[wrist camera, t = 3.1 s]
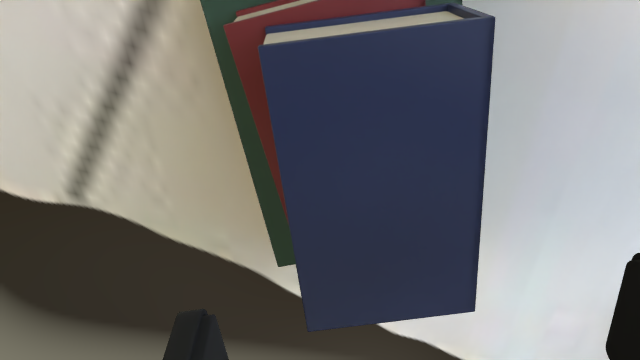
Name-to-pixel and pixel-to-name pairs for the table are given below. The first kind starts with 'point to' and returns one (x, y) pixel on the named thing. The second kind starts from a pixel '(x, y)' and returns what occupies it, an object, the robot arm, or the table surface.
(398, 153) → the navy book
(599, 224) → the table surface
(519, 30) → the table surface
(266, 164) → the green book
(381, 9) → the burgundy book
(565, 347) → the table surface
